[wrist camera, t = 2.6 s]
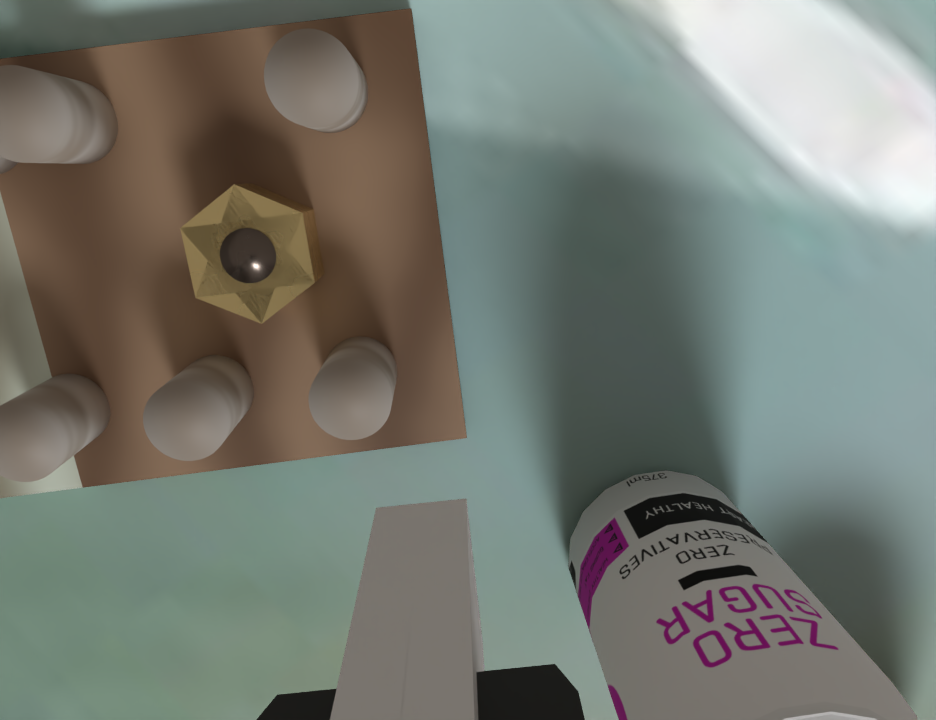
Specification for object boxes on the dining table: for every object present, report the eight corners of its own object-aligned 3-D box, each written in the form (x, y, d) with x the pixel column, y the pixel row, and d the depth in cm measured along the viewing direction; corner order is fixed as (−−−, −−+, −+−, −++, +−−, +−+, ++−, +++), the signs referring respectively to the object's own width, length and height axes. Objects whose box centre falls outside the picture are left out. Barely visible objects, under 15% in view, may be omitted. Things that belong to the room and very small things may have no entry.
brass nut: (222, 317, 29) (202, 331, 27) (194, 190, 28) (171, 192, 26) (330, 304, 30) (320, 316, 27) (307, 176, 28) (295, 176, 26)
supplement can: (631, 651, 36) (764, 981, 21) (531, 533, 34) (602, 805, 19) (770, 557, 35) (1010, 835, 20) (675, 430, 33) (863, 635, 18)
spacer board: (-30, 492, 32) (-116, 551, 27) (-160, 85, 28) (-292, 66, 23) (465, 428, 32) (471, 475, 27) (412, 15, 28) (406, -19, 23)
